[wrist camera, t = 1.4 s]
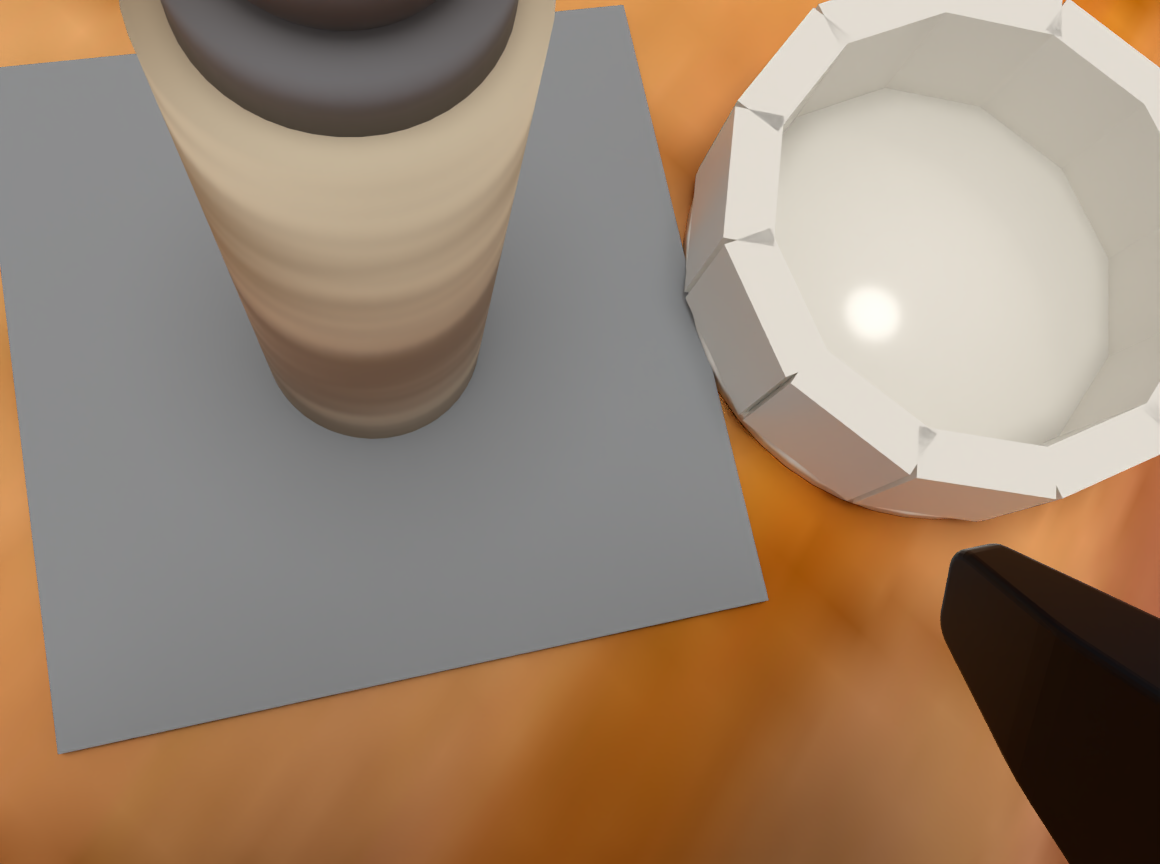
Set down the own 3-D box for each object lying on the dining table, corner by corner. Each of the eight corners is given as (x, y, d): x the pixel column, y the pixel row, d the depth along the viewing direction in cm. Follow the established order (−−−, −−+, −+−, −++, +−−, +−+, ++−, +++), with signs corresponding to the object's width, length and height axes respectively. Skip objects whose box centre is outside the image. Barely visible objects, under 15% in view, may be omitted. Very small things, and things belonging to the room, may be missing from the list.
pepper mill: (511, 394, 23) (705, -125, 8) (309, 470, 22) (116, 34, 7) (433, 210, 24) (484, -578, 9) (233, 275, 23) (-86, -492, 8)
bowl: (1210, 416, 26) (1336, 374, 22) (809, 595, 23) (880, 581, 20) (1002, 17, 27) (1089, -79, 24) (606, 146, 25) (638, 59, 21)
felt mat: (764, 601, 23) (768, 600, 23) (63, 753, 20) (58, 754, 20) (620, 12, 26) (623, 4, 25) (-18, 77, 23) (-23, 69, 23)
